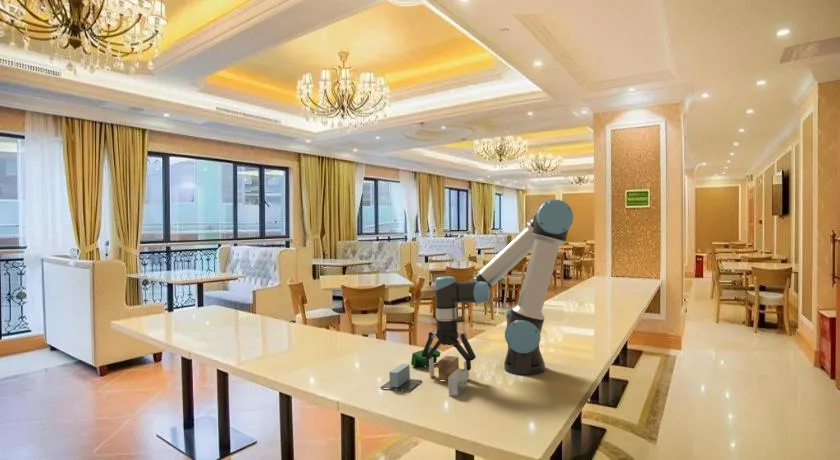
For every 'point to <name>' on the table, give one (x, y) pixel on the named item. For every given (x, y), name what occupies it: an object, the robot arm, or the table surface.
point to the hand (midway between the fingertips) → (449, 377)
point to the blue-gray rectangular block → (399, 375)
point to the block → (447, 367)
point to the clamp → (423, 358)
